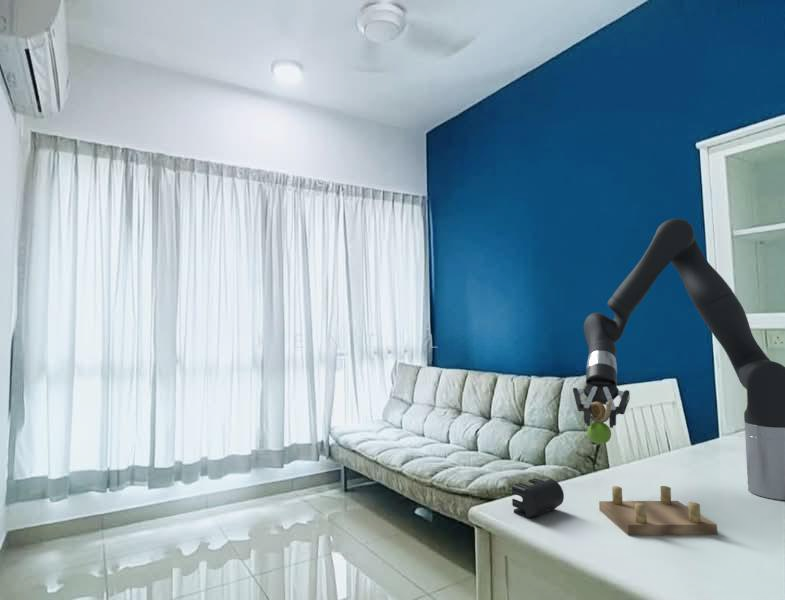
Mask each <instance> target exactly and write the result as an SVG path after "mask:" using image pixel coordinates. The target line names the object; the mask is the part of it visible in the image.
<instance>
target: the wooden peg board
mask: <svg viewBox="0 0 785 600" xmlns="http://www.w3.org/2000/svg"><path fill="white" fill-rule="evenodd" d="M611 488H612V489H611V491H612V493H611V494H612V500H611V501H610V500H609V501H608V500H606V501H605V500H603V501H602V500H601V501H600V500H599V502H598V503H599V504H598V505H599V510H598V511H600V513H602V514H603V515H604V516H605V517H606V518H608V519H609V520H610V521H611V522H612V523H614V524H615V525H616V526H617V527H618V528H619V529H620V530H621V531H623V532H624V533H625V534H626V535H627V536H701V535H702V536H706V535H708V536H709V535H711V536H716V535H718V524H717V523H715V522H714V521H713V520H710V519H708V518H707V517H705V516H704V515H702V514H701V505H700V504H699V503H697V502H695V501H690V502H688V503H687V504H688V505H685V504H684V503H682V502H680V501H679V500H672V492H671V490H672V487H670V486H667V485H661V486H660V487H659V488H660V500H623V488H622V487H621V486H617V485H616V486H612V487H611Z"/></svg>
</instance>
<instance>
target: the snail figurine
mask: <svg viewBox="0 0 785 600" xmlns="http://www.w3.org/2000/svg"><path fill="white" fill-rule="evenodd" d="M608 399H609V402H607V403H606V405H604V404H602V403H600V402H593V403H592V404H591V406H590V413H591V418H590V420H592V421H593V422H592V423H590V426H587V436H588V438H589V440H591V442H592V443H595V444H597V445H605V444H607V443H608V442H609V441H610V439H611V437H612V430H611V428H610V426H608V425H607V423H606V422H607V421H608V420H609V416H610V412H611V406H612V403H611V402H610V399H612V397H609V398H608Z"/></svg>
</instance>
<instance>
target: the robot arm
mask: <svg viewBox="0 0 785 600" xmlns="http://www.w3.org/2000/svg"><path fill="white" fill-rule="evenodd" d="M670 263H671V264H672V265H673V267H674V268H675V270H676V271H677V272H678V274H679V276H680V278H681V280H682V282H683V285H684V287H685V290H686V292H687V294H688V296H689V298H690V300H691V301H692V304H693V305H694V308H696V311H697V313H698V314H699V315H700V317H701V318H702V320H703V321H704V323H705V324H706V326H707V327H708V329H709V330H710V332H711V333H712V334H713V336H714V337H715V339H716V340H717V342H718V343H719V344H720V346H721V347H722V349H723V350H724V351H725V353H726V355H727V357H728V359H729V361H730V363H731V365H732V367H733V369H734V372H735V374H736V376H737V378H738V380H739V383H740V384H741V385H742V387H743V388H744V389H746V402H747V405H746V409H745V411H744V413H743V417H744V418H743V420H744V421H743V422H744V436H745V439H744V440H745V453H746V455H745V456H746V457H745V458H746V472H747V473H746V474H747V475H746V476H747V486H748V487H747V490H748V492H750V494H754V495H756V496H760V497H762V498H768V499H772V500H779V501H785V366H784V365H783V364H781V363H779V362H775V361H773V360H771V359H770V358H769V357H768V356H767V354H766V353H765V352H764V351H763V349H762V348H761V346H760V345H759V344H758V342H757V341H756V339H755V337H754V335H753V332H752V330H751V327H750V323H749V321H748V316H747V314H746V312H745V310H744V307H743V305H742V304H741V302H740V301H739V299H738V297H737V295H735V292H733V290H732V288H731V287H730V286H729V284H728V283H727V282H726V281H725V279H724V278H723V277H722V276H721V275H720V273H719V272H718V271H716V269H715V268H714V267H713V266H712V265H711V264H710V262H709V261H708V260H707V258H706V257H705V255H704V253H703V252H702V249H701V247H700V246H699V244H698V241H697V239H696V237H695V229H694V227H693V225H692V224H691V223H690V222H689V221H688V220H686V219H682V218H672V219H667V220H666V221H664V222H662V223H661V224H660V225H659V226H658V227H657V229H656V232H655V233H654V235H653V238H652V240H651V241H650V244H649V246H648V247H647V249H646V250H645V252H644V254H643V255H642V257H641V258H640V260H639V261H638V263H637V264H636V265H635V266H634V267H633V269H632V270H631V271H630V273H629V274H628V275H627V276H626V277H625V278H624V280H623V281H622V282H621V283H620V285H619V286H618V287H617V289H616V290H615V291H614V293H613V294H612V295H611V297H609V299H608V301H607V307H608V308H609V309H610V310H611V311H612V312H613V313H614V316H613V317H614V318H612V319H611V318H610V317H608V316H607V315H604V314H603V313H601V312H593V313H590V314H589V315H588V316H587V317H586V318H585V321H584V322H583V332H584V333H583V334H584V336H585V340H586V343H587V346H588V357H587V362H586V374H585V385H584V386H583V388H580V389H579V388H577V387H573V388H572V393H573V397H574V401H575V405H576V408H577V411H578V412H583V421H584V424H586V426H587V427H589V426H590V425H591V416H592V414H591V412H590V406H591V404H592V403H593V402H600V403H602V404H603V405H604V406H606V403H607V402H609V399H608V398H609V397H612V399H610V402H611V403H612V406H611V412H610V416H609V419H608V420H609V423H608V424H609V428H610V429H613V428H614V427H616V425H617V415H625V412H626V409H627V407H628V404H629V402H630V399H631V397H630V396H631V395H630V391H629V390H628V389H626V390H624V391H623V390H619V388H618V384H617V383H618V380H617V379H618V368H617V367H618V365H617V348H616V344H615V343H617V342H618V341H619V340H620V339H621V338H622V336H623V333H624V331H625V329H626V326H627V323H628V322H629V319H630V317H631V316H632V313H633V312H634V310H636V308H637V307H638V305H639V304H640V303H641V302H642V301H643V300H644V298H645V296H647V294H648V292H649V290H650V289H651V288H652V287H653V285H654V284H655V281H656V280H657V278H658V277H659V276H660V275H661V273H662V272H663V271H664V269H665V268H666V267H667V266H668V265H669V264H670ZM584 395H585V397H587V398H586V401H585V403H584V404H583V403H582V400H581V398H582V397H583V396H584ZM618 396H619V399H620V401H619V404H618V405H617V406H616V405H615V403H614V400H615V399H616V398H617V397H618Z"/></svg>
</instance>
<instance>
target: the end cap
mask: <svg viewBox="0 0 785 600" xmlns="http://www.w3.org/2000/svg"><path fill="white" fill-rule="evenodd" d="M528 483H530V484H525V483H522V482H518V483H515V484H513V485H512V487H511V494H513V495H516V496H519V497H520V498H521V499H522V500H521V501H520V500H518V499H515V498H512V503H511V505H512V507H514V508H515V509H513V514H515V515H518V516H521V517H523V518H525V519H531V518H535V517H537V516H539V515H543V514H544V513H548V512H550V511H553V510H555V509H557V508H558V507H560V505H562V504H563V502H564V499H565V498H564V497H565V496H564V495H565V493H564V490H563V488H562V486H561V485H560V483H558V481H556V480H555V479H553V478H551V479H547V480H543V479H539V478H537V477H533V478H530V479H528Z"/></svg>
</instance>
